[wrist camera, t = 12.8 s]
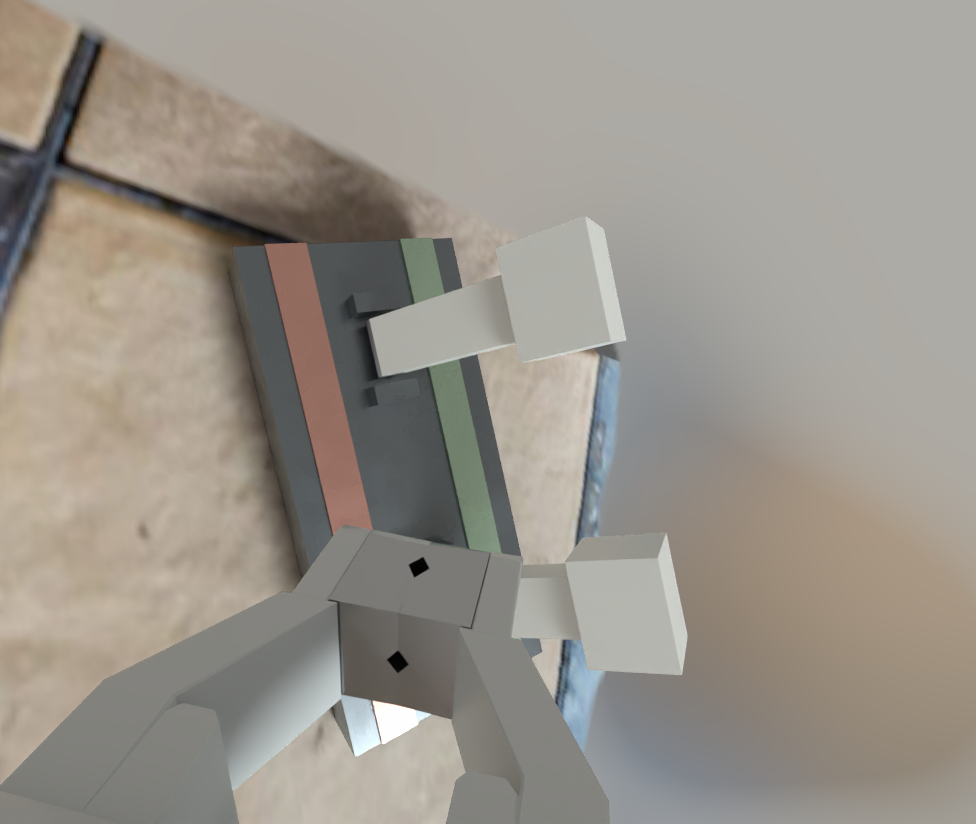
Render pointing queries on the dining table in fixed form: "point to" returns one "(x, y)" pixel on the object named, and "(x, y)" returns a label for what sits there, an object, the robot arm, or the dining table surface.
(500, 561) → the robot arm
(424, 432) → the breaker box
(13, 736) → the dining table surface
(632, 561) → the lever
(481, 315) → the on lever
